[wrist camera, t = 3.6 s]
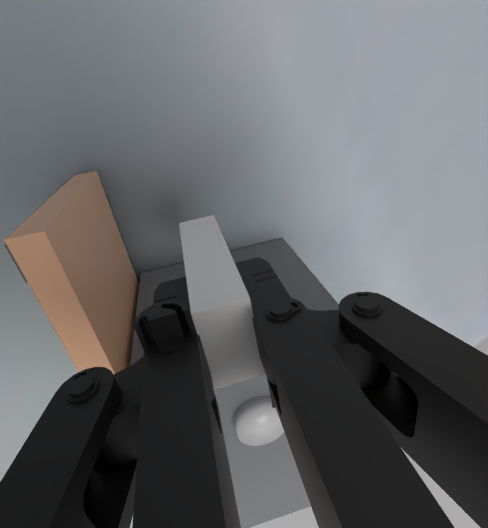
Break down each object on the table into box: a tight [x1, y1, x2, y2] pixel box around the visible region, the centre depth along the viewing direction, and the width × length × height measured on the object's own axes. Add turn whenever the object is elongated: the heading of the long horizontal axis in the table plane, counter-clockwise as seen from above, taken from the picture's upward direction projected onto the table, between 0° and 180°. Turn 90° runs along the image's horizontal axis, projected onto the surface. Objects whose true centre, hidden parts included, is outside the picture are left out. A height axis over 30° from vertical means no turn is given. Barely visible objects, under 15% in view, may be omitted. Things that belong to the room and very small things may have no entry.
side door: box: [4, 171, 139, 375], centre depth 20 cm, size 22×2×10 cm, turn 9°
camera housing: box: [130, 238, 339, 528], centre depth 22 cm, size 16×10×11 cm, turn 9°
